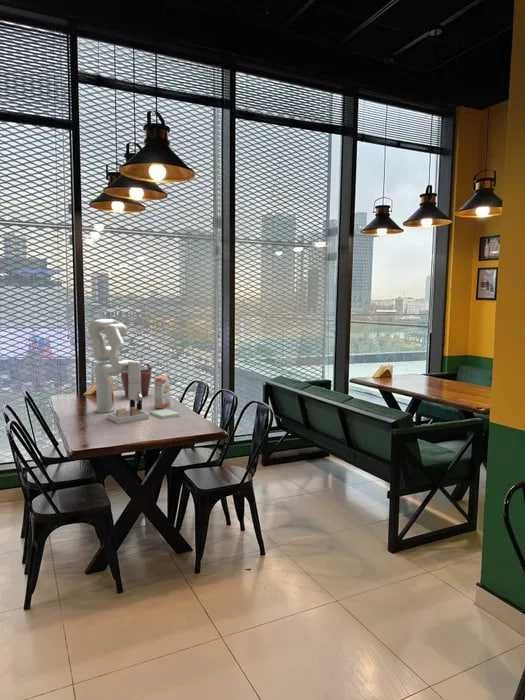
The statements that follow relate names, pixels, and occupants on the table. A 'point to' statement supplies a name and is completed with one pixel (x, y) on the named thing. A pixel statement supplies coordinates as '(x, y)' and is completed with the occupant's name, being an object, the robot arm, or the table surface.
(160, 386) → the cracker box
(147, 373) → the bucket
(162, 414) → the board
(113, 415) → the bin
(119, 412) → the plain block
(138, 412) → the labelled block
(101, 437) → the table surface
